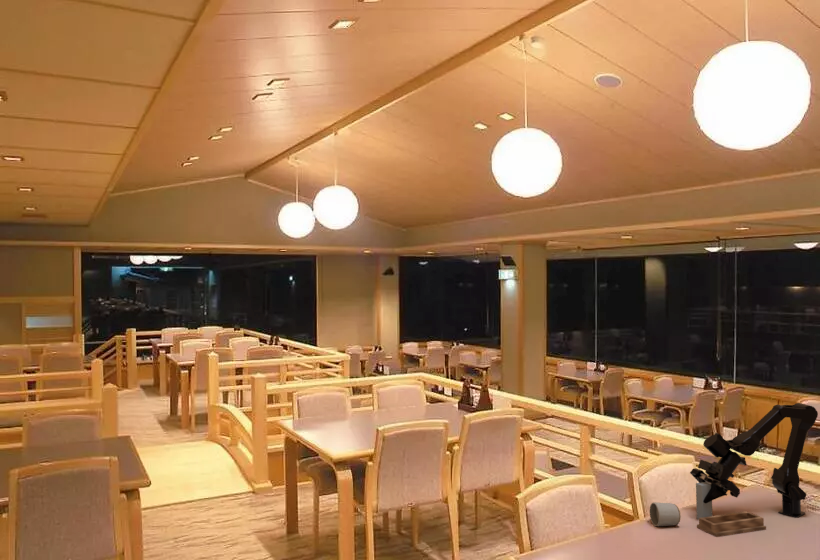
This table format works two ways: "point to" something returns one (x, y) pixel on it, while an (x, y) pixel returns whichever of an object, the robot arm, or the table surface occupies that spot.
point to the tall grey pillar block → (701, 493)
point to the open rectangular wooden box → (731, 524)
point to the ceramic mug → (664, 514)
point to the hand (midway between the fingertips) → (700, 501)
